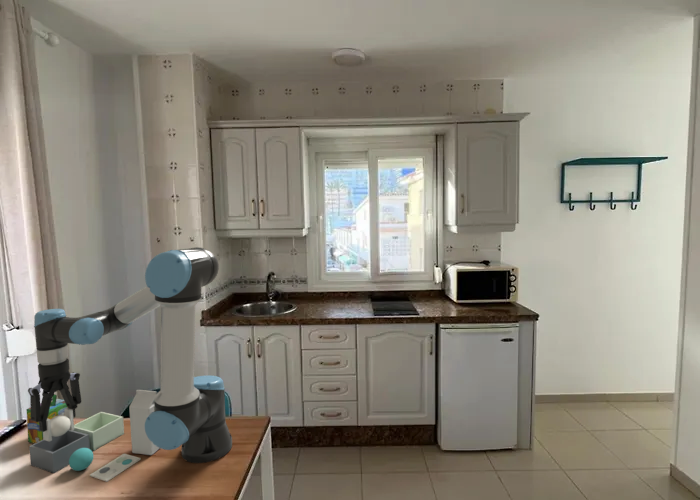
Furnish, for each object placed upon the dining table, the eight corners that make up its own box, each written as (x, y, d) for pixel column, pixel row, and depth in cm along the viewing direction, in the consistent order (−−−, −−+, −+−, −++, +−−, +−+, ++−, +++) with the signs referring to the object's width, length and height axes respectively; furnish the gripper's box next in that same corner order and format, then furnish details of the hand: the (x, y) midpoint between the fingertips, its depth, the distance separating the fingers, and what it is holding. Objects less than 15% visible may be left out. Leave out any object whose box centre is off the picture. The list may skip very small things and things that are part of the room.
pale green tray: (124, 433, 136) (123, 416, 136) (94, 450, 126) (92, 432, 126) (102, 428, 140) (101, 411, 140) (71, 444, 130) (70, 426, 130)
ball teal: (98, 465, 119) (97, 445, 118) (78, 477, 113) (77, 457, 113) (85, 460, 121) (83, 442, 121) (64, 472, 116) (63, 452, 115)
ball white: (75, 432, 123) (74, 413, 123) (55, 442, 118) (53, 422, 117) (63, 428, 126) (61, 410, 125) (42, 438, 120) (40, 419, 120)
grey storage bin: (90, 453, 125) (88, 434, 125) (54, 473, 115) (52, 453, 115) (67, 446, 129) (66, 428, 129) (30, 465, 119) (29, 446, 119)
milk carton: (151, 455, 123) (148, 396, 122) (132, 453, 125) (128, 394, 123) (166, 443, 130) (163, 386, 129) (147, 440, 132) (144, 385, 130)
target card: (140, 459, 121) (140, 457, 121) (106, 481, 111) (106, 479, 111) (124, 454, 124) (124, 453, 124) (89, 476, 114) (89, 474, 114)
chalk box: (27, 443, 132) (23, 399, 131) (55, 428, 140) (52, 388, 139) (47, 447, 129) (44, 403, 128) (74, 432, 138) (71, 391, 137)
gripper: (76, 349, 130) (81, 417, 132) (9, 370, 113) (16, 448, 114) (92, 352, 127) (97, 421, 129) (26, 373, 110) (32, 454, 112)
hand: (59, 434), depth 122 cm, fingers closed on ball white, 6 cm apart
